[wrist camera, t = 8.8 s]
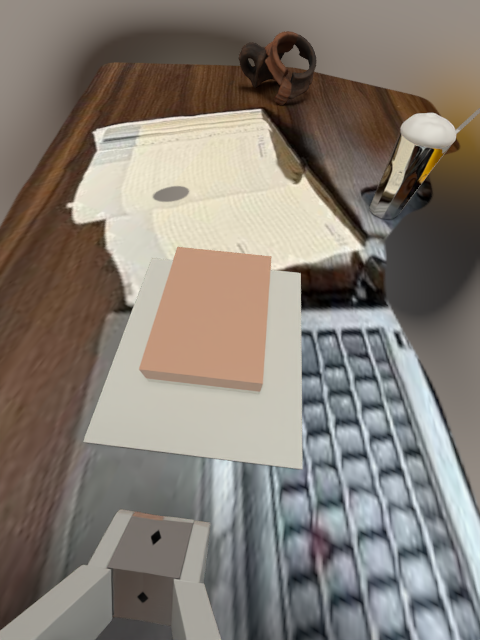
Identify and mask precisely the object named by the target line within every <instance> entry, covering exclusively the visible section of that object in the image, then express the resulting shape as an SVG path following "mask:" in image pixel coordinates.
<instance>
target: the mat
mask: <svg viewBox="0 0 480 640" xmlns="http://www.w3.org/2000/svg"><path fill="white" fill-rule="evenodd" d="M172 263H173V260H168V259H158V258H152V259H151V262H150V264H149V267H148V270H147V272H146V275H145V278H144V280H143V283H142V286H141V288H140V291H139V294H138V296H137V299H136V302H135V304H134V307H133V310H132V312H131V315H130V318H129V321H128V323H127V326H126V329H125V331H124V334H123V337H122V339H121V342H120V345H119V347H118V350H117V353H116V355H115V358H114V361H113V363H112V366H111V369H110V371H109V374H108V377H107V379H106V382H105V385H104V387H103V390H102V393H101V395H100V398H99V401H98V403H97V406H96V409H95V412H94V414H93V417H92V420H91V422H90V425H89V428H88V430H87V433H86V436H85V438H84V441H83V442H86V443H93V444H101V445H109V446H117V447H125V448H133V449H141V450H149V451H157V452H165V453H174V454H182V455H190V456H198V457H206V458H214V459H222V460H230V461H238V462H246V463H254V464H262V465H270V466H278V467H286V468H294V469H302V379H301V273H294V272H284V271H275V270H270V284H269V299H268V314H267V329H266V344H265V359H264V374H263V385H262V388H261V391H260V394H254V393H245V392H237V391H228V390H220V389H211V388H203V387H194V386H185V385H177V384H168V383H160V382H151V381H148V380H147V379H146V378H145V376H144V375H143V374H142V373H141V371H140V370H139V367H140V364H141V361H142V358H143V354H144V351H145V348H146V345H147V342H148V339H149V335H150V332H151V329H152V326H153V323H154V320H155V317H156V313H157V310H158V307H159V304H160V301H161V298H162V294H163V291H164V288H165V285H166V282H167V279H168V275H169V272H170V269H171V266H172Z"/></svg>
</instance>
